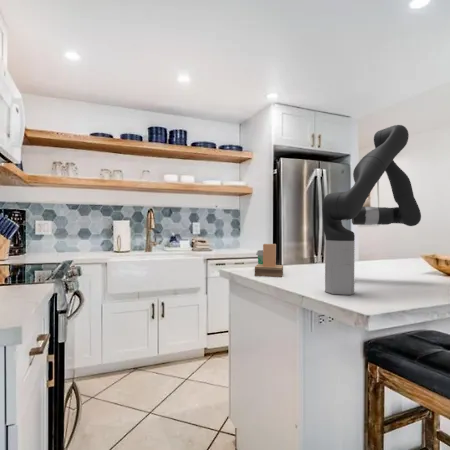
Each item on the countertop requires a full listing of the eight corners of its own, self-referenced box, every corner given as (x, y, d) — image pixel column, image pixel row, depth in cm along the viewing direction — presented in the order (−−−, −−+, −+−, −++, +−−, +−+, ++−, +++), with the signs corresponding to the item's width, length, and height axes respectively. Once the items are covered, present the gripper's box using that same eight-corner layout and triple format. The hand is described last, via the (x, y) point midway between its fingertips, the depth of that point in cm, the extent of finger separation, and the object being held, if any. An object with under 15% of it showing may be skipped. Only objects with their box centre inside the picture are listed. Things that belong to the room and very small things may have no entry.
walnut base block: (282, 277, 145) (282, 267, 145) (254, 276, 147) (254, 267, 147) (283, 273, 156) (283, 265, 156) (257, 272, 159) (257, 264, 159)
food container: (251, 269, 170) (251, 250, 170) (262, 269, 172) (262, 250, 172) (264, 272, 158) (264, 251, 159) (275, 272, 161) (275, 251, 161)
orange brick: (275, 266, 149) (275, 244, 149) (262, 266, 150) (263, 244, 150) (275, 265, 154) (276, 244, 154) (263, 265, 155) (264, 243, 155)
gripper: (361, 208, 143) (322, 207, 146) (369, 205, 129) (325, 204, 132) (361, 225, 143) (322, 224, 146) (368, 224, 129) (325, 223, 132)
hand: (323, 215), depth 139 cm, fingers open, 8 cm apart
